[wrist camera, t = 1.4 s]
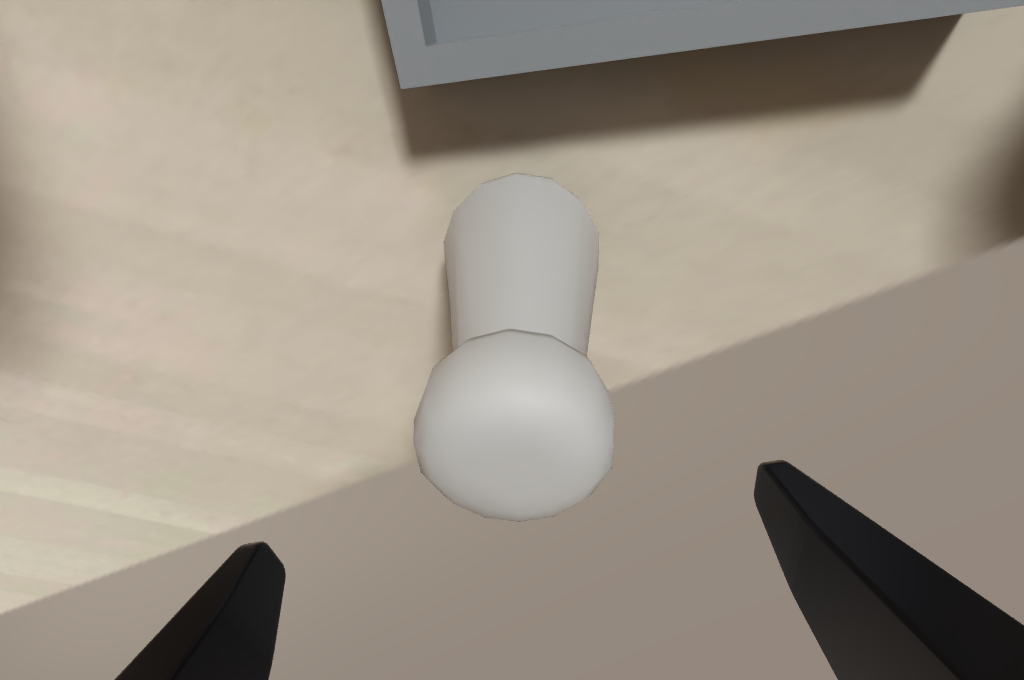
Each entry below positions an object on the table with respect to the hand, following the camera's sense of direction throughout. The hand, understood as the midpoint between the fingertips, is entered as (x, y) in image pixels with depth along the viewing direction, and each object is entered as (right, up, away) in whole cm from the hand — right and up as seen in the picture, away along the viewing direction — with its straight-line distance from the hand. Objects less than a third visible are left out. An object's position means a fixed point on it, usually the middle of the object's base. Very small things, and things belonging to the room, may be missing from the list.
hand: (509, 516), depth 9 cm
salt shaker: (+1, +8, +12) cm, 14 cm away
